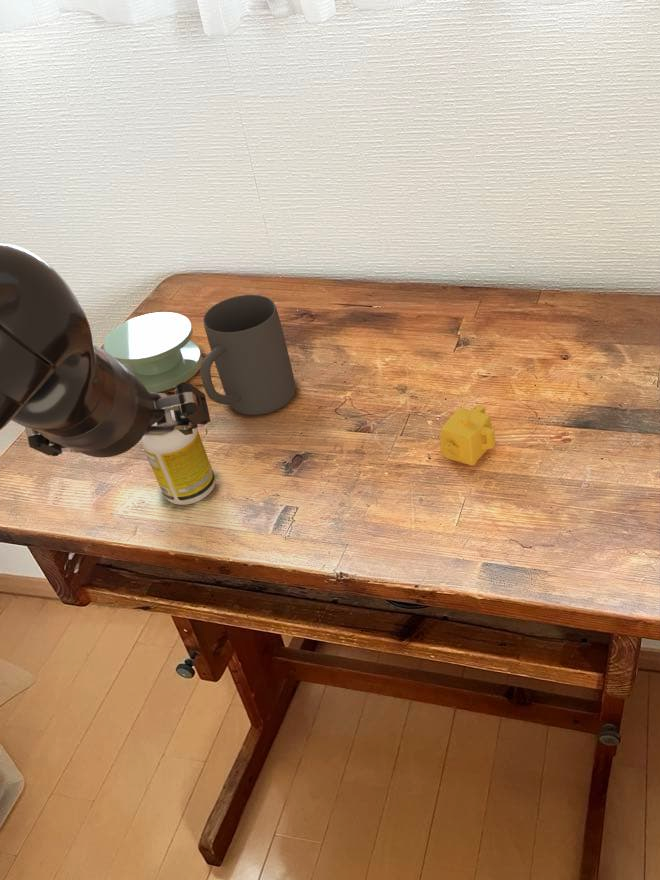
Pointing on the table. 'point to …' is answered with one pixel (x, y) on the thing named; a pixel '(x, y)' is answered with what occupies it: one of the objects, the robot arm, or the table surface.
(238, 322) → the mug
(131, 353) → the stand
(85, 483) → the table surface
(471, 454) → the yellow snap cube
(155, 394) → the robot arm
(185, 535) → the table surface
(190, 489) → the pill bottle
